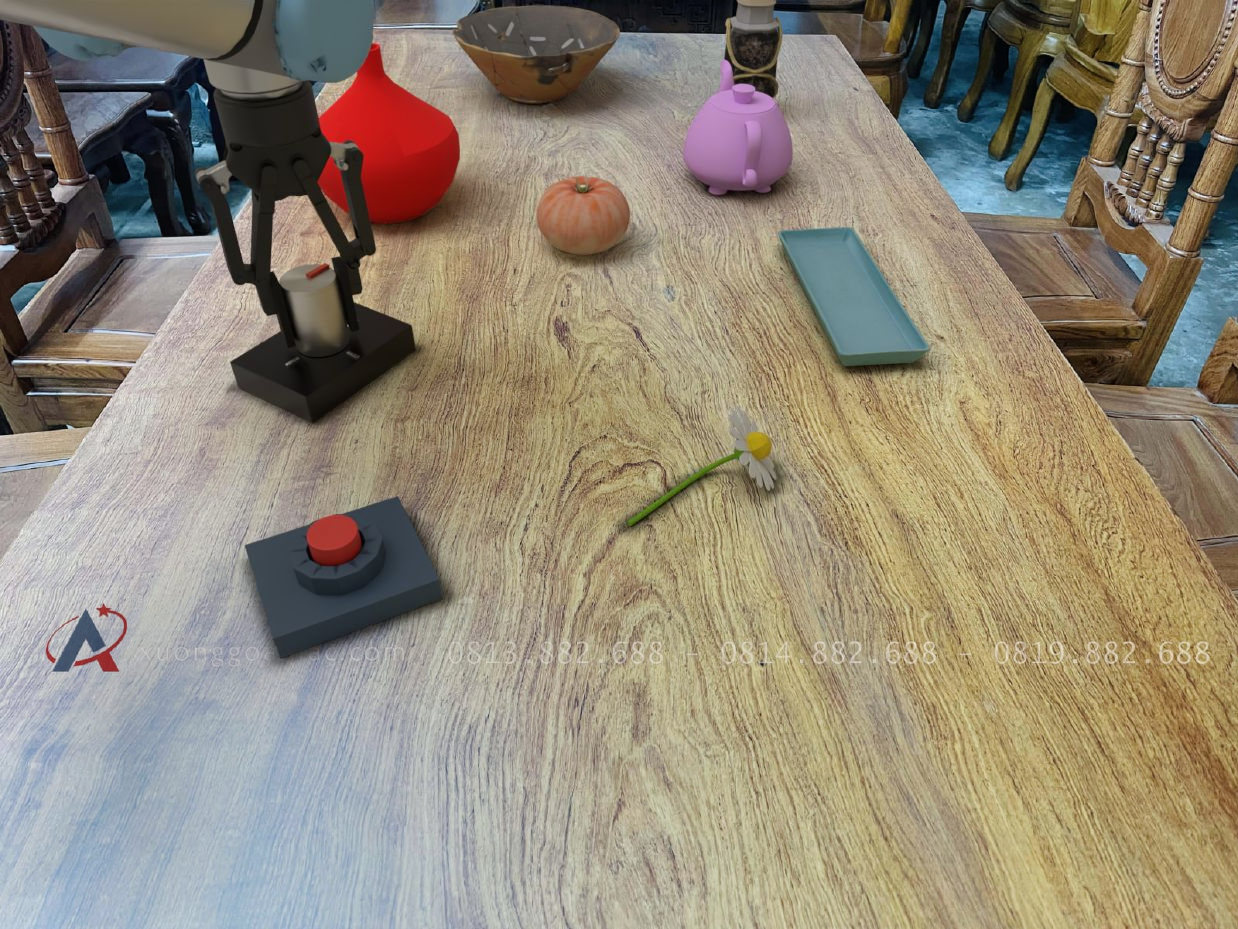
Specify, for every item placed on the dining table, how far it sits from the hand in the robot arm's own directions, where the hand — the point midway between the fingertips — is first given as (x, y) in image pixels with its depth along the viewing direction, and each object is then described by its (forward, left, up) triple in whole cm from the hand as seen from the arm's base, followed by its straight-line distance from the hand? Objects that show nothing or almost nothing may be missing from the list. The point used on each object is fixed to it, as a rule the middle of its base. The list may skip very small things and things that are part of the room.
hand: (320, 331), depth 90 cm
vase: (+16, +31, -4) cm, 35 cm away
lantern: (+72, +36, -4) cm, 81 cm away
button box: (-6, -28, -4) cm, 29 cm away
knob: (0, 0, -1) cm, 1 cm away
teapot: (+59, +19, -4) cm, 62 cm away
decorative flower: (+24, -33, -4) cm, 41 cm away
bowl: (+48, +58, -4) cm, 75 cm away
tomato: (+33, +11, -4) cm, 35 cm away
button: (-6, -28, -1) cm, 29 cm away
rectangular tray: (+53, -13, -4) cm, 54 cm away
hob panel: (0, 0, -4) cm, 4 cm away
